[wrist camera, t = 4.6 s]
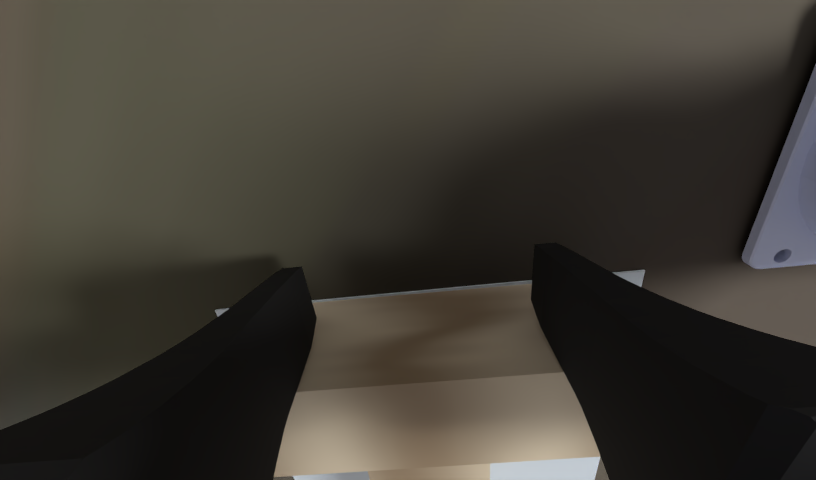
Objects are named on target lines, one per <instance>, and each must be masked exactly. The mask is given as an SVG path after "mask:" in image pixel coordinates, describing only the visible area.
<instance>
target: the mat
mask: <svg viewBox="0 0 816 480" xmlns="http://www.w3.org/2000/svg"><path fill="white" fill-rule="evenodd" d="M612 273H614V274H615V275H617V276H619V277H621V278H623V279H625V280H627V281H629V282H631V283H634V284H636V285H638V286H640V287H641V286H642V282H643V278H644V274H645V270H644V269H643V270H632V271H621V272H612ZM523 284H532V280H525V281H514V282H503V283H493V284H482V285H471V286H460V287H450V288H439V289H428V290H417V291H407V292H396V293H385V294H374V295H364V296H353V297H342V298H331V299H321V300H312V303H315V302H326V301H338V300H349V299H361V298H373V297H384V296H396V295H407V294H419V293H430V292H442V291H454V290H465V289H477V288H488V287H500V286H511V285H523ZM228 309H229V308H224V309H215V312H216V314H217V316H220V315H221V314H222V313H224V312H225V311H227V310H228ZM599 459H600V457H586V458H570V459H554V460H538V461H522V462H506V463H490V480H595V476H596V472H597V468H598V464H599ZM293 478H294V480H370V478H369V475H368V471H363V472H347V473H331V474H315V475H299V476H293Z"/></svg>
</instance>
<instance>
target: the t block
mask: <svg viewBox="0 0 816 480" xmlns="http://www.w3.org/2000/svg"><path fill="white" fill-rule="evenodd" d="M531 289H532V284H523V285H511V286H500V287H488V288H477V289H465V290H454V291H442V292H430V293H419V294H407V295H396V296H384V297H373V298H361V299H349V300H338V301H326V302H315V303H312V304H313V307H314V310H315V314H316V317H317V320H316V325H315V331H314V337H313V342H312V347H311V350H310V353H309V356H308V359H307V362H306V365H305V368H304V371H303V374H302V377H301V380H300V383H299V386H298V389H297V392H296V394H295V397H294V400H293V403H292V406H291V409H290V412H289V415H288V419H287V422H286V425H285V429H284V433H283V437H282V442H281V446H280V450H279V455H278V459H277V463H276V468H275V473H274V477H283V476H299V475H315V474H331V473H347V472H363V471H368V475H369V478H370V480H490V463H506V462H522V461H538V460H554V459H570V458H586V457H601V456H600V453H599V450H598V448H597V445H596V442H595V440H594V437H593V435H592V432H591V430H590V427H589V425H588V422H587V420H586V417H585V415H584V412H583V410H582V407H581V405H580V403H579V401H578V399H577V397H576V395H575V393H574V391H573V389H572V387H571V385H570V383H569V381H568V379H567V377H566V375H565V373H564V372H563V370H562V368H561V366H560V364H559V362H558V360H557V358H556V356H555V354H554V352H553V351H552V349H551V347H550V345H549V343H548V341H547V339H546V337H545V335H544V333H543V331H542V329H541V327H540V324H539V321H538V319H537V316H536V313H535V310H534V307H533V304H532V301H531Z"/></svg>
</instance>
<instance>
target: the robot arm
mask: <svg viewBox="0 0 816 480" xmlns="http://www.w3.org/2000/svg"><path fill="white" fill-rule="evenodd" d="M742 260H743V262H744V263H746V264H748V265H749V266H751V267H753V268H754V269H767V268H778V267H789V266H800V265H811V264H816V64H815V67H814V69H813V72H812V75H811V77H810V80H809V82H808V85H807V88H806V90H805V93H804V95H803V98H802V101H801V103H800V106H799V108H798V111H797V113H796V116H795V119H794V121H793V124H792V126H791V129H790V132H789V134H788V137H787V139H786V142H785V145H784V147H783V150H782V152H781V155H780V157H779V160H778V163H777V165H776V168H775V170H774V173H773V176H772V178H771V181H770V183H769V186H768V189H767V191H766V194H765V196H764V199H763V202H762V204H761V207H760V209H759V212H758V214H757V217H756V220H755V222H754V225H753V227H752V230H751V233H750V235H749V238H748V240H747V243H746V246H745V248H744V251H743V253H742ZM531 301H532V304H533V307H534V310H535V313H536V316H537V319H538V321H539V324H540V327H541V329H542V331H543V333H544V335H545V337H546V339H547V341H548V343H549V345H550V347H551V349H552V351H553V352H554V354H555V356H556V358H557V360H558V362H559V364H560V366H561V368H562V370H563V372H564V373H565V375H566V377H567V379H568V381H569V383H570V385H571V387H572V389H573V391H574V393H575V395H576V397H577V399H578V401H579V403H580V405H581V407H582V410H583V412H584V415H585V417H586V420H587V422H588V425H589V427H590V430H591V432H592V435H593V437H594V440H595V442H596V445H597V448H598V450H599V453H600V456H601V458H602V461H603V464H604V466H605V469H606V472H607V474H608V477H609V480H816V347H815V346H811V345H807V344H803V343H799V342H796V341H792V340H788V339H784V338H781V337H777V336H774V335H770V334H767V333H763V332H760V331H757V330H753V329H750V328H747V327H744V326H741V325H738V324H735V323H732V322H729V321H726V320H722V319H719V318H716V317H713V316H711V315H708V314H705V313H702V312H699V311H697V310H694V309H692V308H689V307H687V306H684V305H682V304H679V303H677V302H674V301H671V300H669V299H666V298H664V297H662V296H659V295H657V294H655V293H653V292H650V291H648V290H646V289H644V288H642V287H640V286H638V285H636V284H634V283H631V282H629V281H627V280H625V279H623V278H621V277H619V276H617V275H615V274H614V273H612V272H610V271H608V270H606V269H604V268H602V267H600V266H599V265H597V264H595V263H593V262H591V261H589V260H588V259H586V258H584V257H582V256H580V255H579V254H577V253H575V252H573V251H571V250H569V249H568V248H566V247H564V246H562V245H560V244H557V243H546V244H535V246H534V260H533V275H532V289H531ZM316 320H317V317H316V314H315V310H314V307H313V304H312V300H311V297H310V293H309V290H308V287H307V283H306V280H305V276H304V273H303V270H302V267H293V268H282V269H281V270H279V271H278V272H276V273H275V274H273V275H272V276H271V277H269V278H268V279H267V280H265V281H264V282H263V283H262V284H260V285H259V286H258V287H256V288H255V289H254V290H253V291H251V292H250V293H249V294H248V295H246V296H245V297H244V298H242V299H241V300H240V301H239V302H237V303H236V304H235V305H233V306H232V307H231V308H229V309H228V310H227V311H225V312H224V313H222V314H221V315H220V316H218V317H217V318H216V319H214V320H213V321H211V322H210V323H209V324H207V325H206V326H205V327H203V328H202V329H200V330H199V331H197V332H196V333H194V334H193V335H191V336H190V337H188V338H187V339H185V340H184V341H182V342H180V343H179V344H177V345H175V346H174V347H172V348H171V349H169V350H167V351H166V352H164V353H162V354H161V355H159V356H157V357H155V358H154V359H152V360H150V361H148V362H146V363H144V364H142V365H141V366H139V367H137V368H135V369H133V370H131V371H129V372H128V373H126V374H124V375H122V376H120V377H118V378H116V379H115V380H113V381H111V382H109V383H107V384H105V385H102V386H100V387H98V388H96V389H94V390H92V391H90V392H88V393H86V394H84V395H82V396H79V397H77V398H75V399H73V400H71V401H68V402H66V403H64V404H62V405H60V406H57V407H55V408H53V409H51V410H48V411H46V412H44V413H41V414H39V415H37V416H34V417H32V418H29V419H27V420H24V421H22V422H19V423H17V424H14V425H12V426H10V427H7V428H5V429H2V430H0V480H273V478H274V473H275V468H276V463H277V459H278V455H279V450H280V446H281V442H282V437H283V433H284V429H285V425H286V422H287V419H288V415H289V412H290V409H291V406H292V403H293V400H294V397H295V394H296V392H297V389H298V386H299V383H300V380H301V377H302V374H303V371H304V368H305V365H306V362H307V359H308V356H309V353H310V350H311V347H312V342H313V337H314V331H315V325H316Z"/></svg>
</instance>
